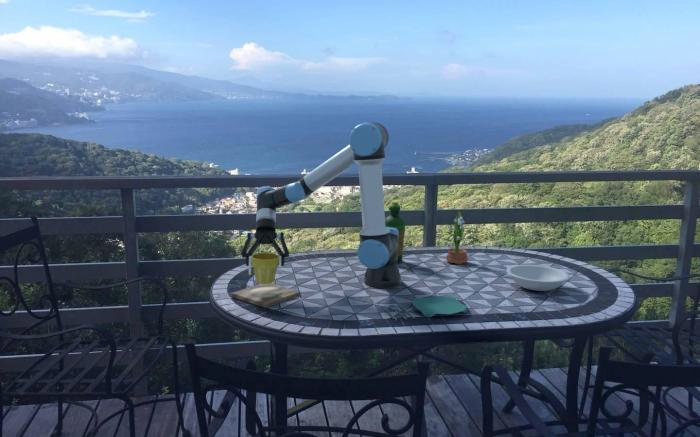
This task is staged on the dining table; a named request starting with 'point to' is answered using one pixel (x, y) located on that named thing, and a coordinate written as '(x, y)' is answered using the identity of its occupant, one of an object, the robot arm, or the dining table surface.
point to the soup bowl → (537, 277)
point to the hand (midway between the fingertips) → (265, 273)
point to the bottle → (397, 226)
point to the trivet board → (266, 294)
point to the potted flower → (457, 243)
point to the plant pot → (264, 267)
